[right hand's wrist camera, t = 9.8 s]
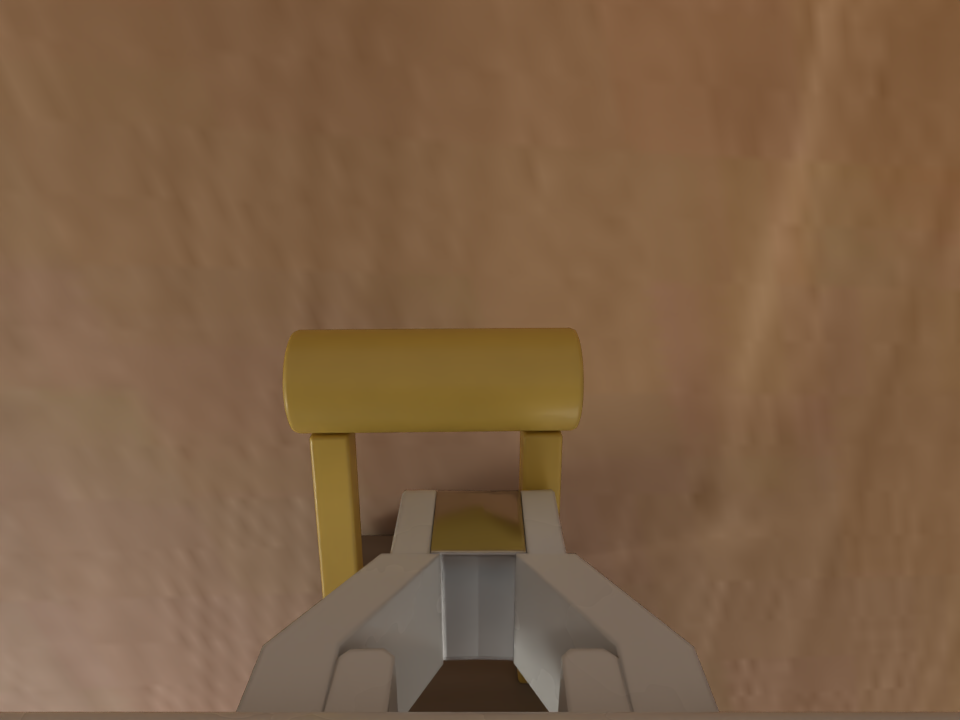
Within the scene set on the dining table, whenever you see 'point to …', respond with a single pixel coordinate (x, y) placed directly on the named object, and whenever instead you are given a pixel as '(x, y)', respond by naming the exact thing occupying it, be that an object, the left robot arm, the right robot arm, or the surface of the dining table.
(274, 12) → the dining table surface
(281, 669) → the right robot arm
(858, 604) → the dining table surface
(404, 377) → the drawer
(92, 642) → the dining table surface
